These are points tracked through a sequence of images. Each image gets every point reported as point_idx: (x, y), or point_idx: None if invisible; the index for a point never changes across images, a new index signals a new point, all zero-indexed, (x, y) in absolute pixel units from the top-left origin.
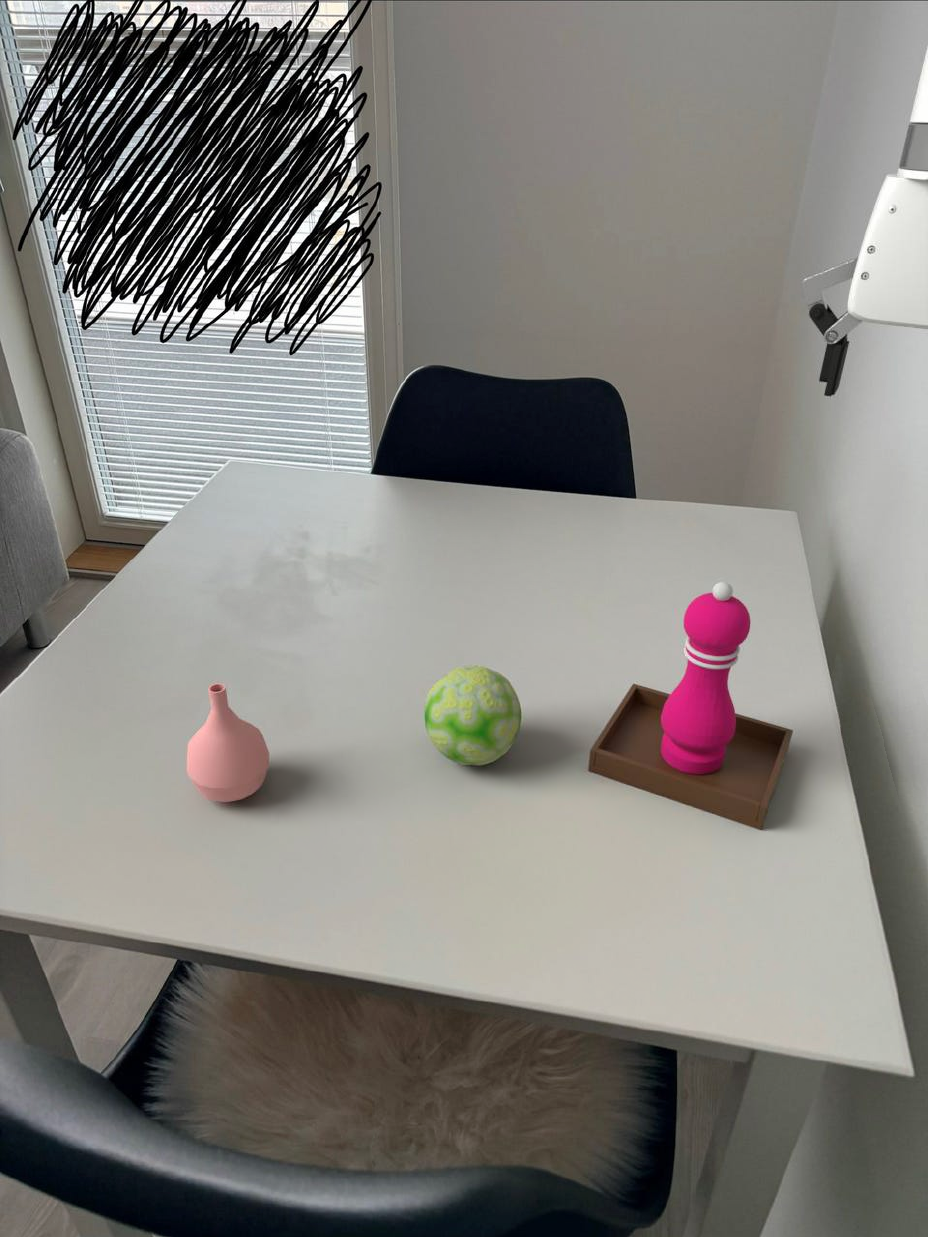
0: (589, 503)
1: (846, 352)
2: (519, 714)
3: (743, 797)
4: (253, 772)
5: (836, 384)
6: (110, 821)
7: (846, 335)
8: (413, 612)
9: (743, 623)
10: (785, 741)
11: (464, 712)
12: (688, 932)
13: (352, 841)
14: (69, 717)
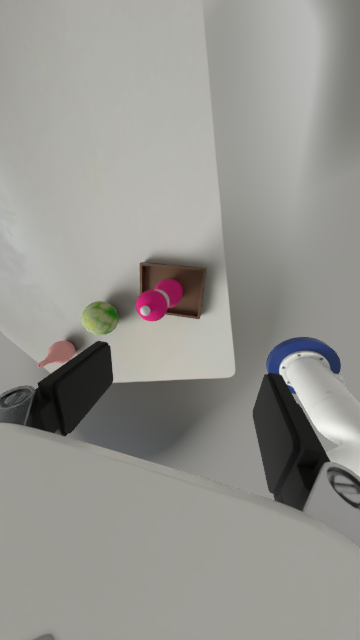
0: None
1: (74, 380)
2: (112, 318)
3: (191, 316)
4: (70, 355)
5: (105, 387)
6: None
7: (45, 425)
8: (42, 232)
9: (162, 314)
10: (203, 278)
11: (98, 334)
12: (186, 357)
13: None
14: (19, 335)
